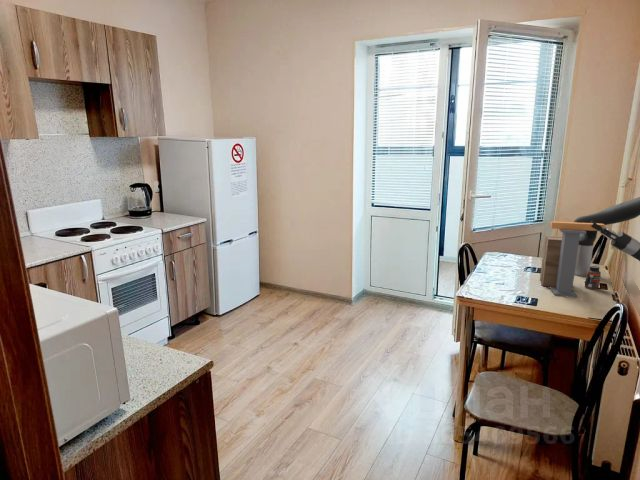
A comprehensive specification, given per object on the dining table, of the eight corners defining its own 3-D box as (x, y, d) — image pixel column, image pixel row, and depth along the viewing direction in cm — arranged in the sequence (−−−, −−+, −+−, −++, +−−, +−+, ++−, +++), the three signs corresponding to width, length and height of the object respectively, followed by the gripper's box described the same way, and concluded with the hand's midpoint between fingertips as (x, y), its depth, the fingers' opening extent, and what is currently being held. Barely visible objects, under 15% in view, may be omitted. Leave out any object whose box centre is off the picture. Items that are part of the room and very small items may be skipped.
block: (550, 227, 208) (550, 221, 208) (602, 229, 201) (602, 223, 201) (551, 228, 205) (552, 222, 205) (603, 231, 199) (604, 224, 198)
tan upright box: (539, 280, 231) (545, 235, 225) (564, 282, 227) (570, 236, 221) (542, 286, 221) (548, 239, 216) (568, 288, 218) (575, 240, 212)
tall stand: (550, 288, 218) (557, 226, 210) (572, 290, 215) (581, 227, 207) (554, 295, 209) (562, 230, 201) (577, 297, 205) (586, 231, 198)
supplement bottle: (591, 290, 215) (594, 268, 212) (581, 286, 220) (584, 265, 218) (601, 289, 216) (604, 267, 214) (591, 285, 222) (594, 264, 219)
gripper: (626, 233, 203) (593, 214, 206) (637, 240, 190) (601, 219, 193) (615, 246, 206) (582, 227, 209) (625, 253, 193) (590, 233, 196)
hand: (591, 223), depth 201 cm, fingers closed on block, 3 cm apart
